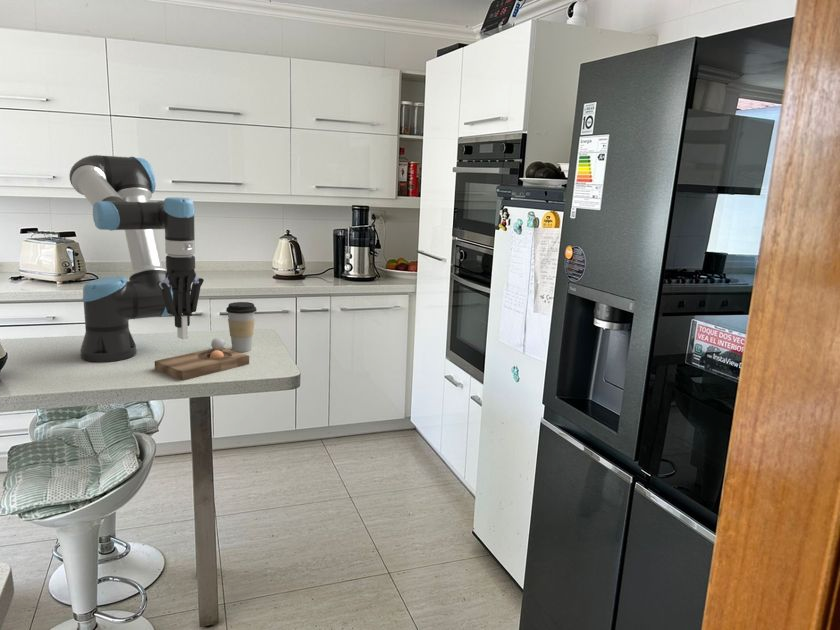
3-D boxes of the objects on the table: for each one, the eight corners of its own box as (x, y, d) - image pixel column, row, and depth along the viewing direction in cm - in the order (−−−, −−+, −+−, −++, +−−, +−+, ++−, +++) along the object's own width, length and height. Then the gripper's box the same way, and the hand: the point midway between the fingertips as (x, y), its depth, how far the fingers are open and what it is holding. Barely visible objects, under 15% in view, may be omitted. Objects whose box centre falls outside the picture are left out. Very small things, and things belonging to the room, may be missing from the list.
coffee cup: (226, 354, 192) (225, 307, 189) (227, 346, 201) (226, 301, 198) (257, 353, 195) (256, 307, 192) (256, 345, 204) (256, 301, 201)
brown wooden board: (154, 369, 175) (154, 360, 174) (220, 354, 192) (220, 346, 191) (182, 380, 166) (182, 371, 166) (249, 363, 184) (249, 355, 183)
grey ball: (208, 350, 187) (208, 337, 186) (220, 347, 190) (219, 335, 189) (216, 352, 184) (216, 340, 184) (227, 350, 188) (227, 337, 187)
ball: (207, 363, 182) (206, 351, 181) (218, 359, 185) (217, 347, 184) (216, 366, 180) (215, 354, 179) (227, 362, 183) (226, 350, 182)
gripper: (166, 258, 160) (168, 345, 166) (209, 255, 170) (210, 336, 176) (150, 254, 164) (153, 339, 170) (193, 251, 175) (195, 331, 180)
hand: (182, 337), depth 173 cm, fingers closed
